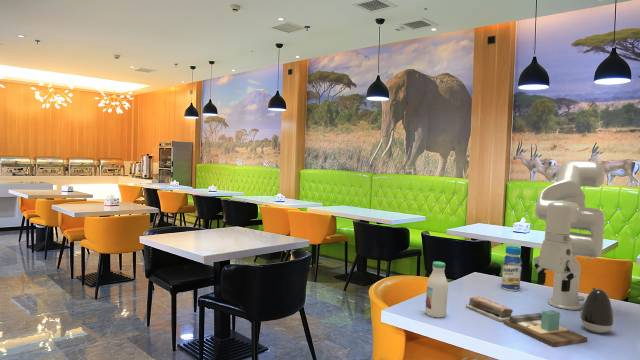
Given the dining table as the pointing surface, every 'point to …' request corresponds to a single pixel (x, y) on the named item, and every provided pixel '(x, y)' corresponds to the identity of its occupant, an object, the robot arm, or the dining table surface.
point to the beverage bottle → (511, 269)
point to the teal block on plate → (548, 323)
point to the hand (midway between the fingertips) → (552, 287)
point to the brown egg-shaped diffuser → (597, 312)
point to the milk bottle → (437, 292)
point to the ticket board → (550, 339)
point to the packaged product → (489, 309)
